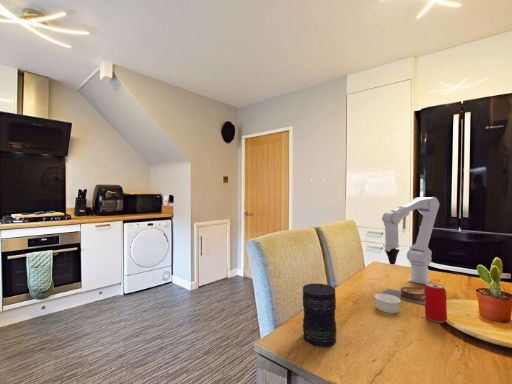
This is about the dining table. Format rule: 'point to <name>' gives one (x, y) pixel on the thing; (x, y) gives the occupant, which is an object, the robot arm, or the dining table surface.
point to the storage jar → (319, 315)
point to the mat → (400, 296)
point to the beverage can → (435, 302)
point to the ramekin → (387, 303)
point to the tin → (413, 293)
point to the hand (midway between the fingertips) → (392, 263)
